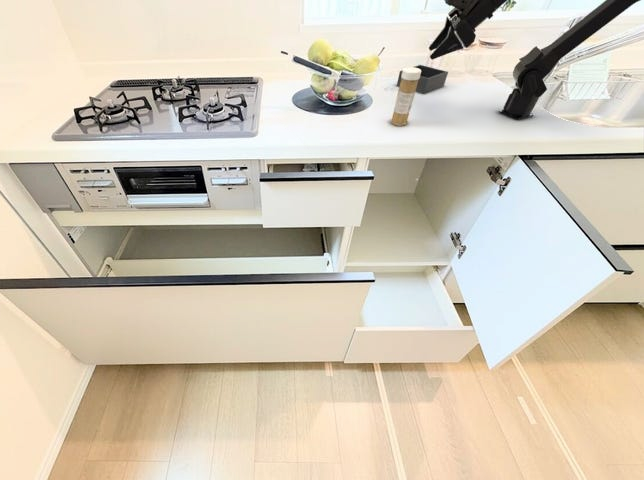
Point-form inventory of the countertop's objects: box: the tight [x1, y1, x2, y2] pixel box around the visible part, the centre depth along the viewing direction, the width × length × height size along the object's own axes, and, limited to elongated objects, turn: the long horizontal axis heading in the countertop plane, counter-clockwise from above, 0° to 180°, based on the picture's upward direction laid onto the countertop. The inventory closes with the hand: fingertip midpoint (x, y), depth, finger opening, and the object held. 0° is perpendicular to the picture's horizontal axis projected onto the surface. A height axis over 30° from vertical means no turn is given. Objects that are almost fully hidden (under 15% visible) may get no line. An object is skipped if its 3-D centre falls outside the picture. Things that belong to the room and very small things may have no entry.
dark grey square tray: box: [396, 64, 449, 95], centre depth 111 cm, size 11×11×4 cm
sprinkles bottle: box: [390, 66, 421, 127], centre depth 88 cm, size 5×5×14 cm
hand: (430, 53), depth 90 cm, fingers open, 9 cm apart
